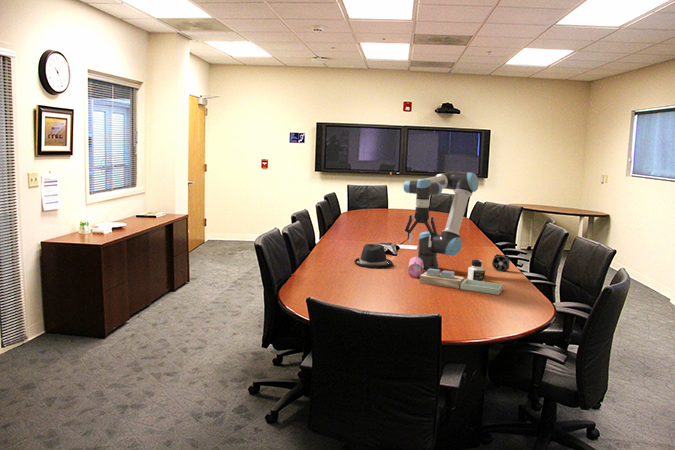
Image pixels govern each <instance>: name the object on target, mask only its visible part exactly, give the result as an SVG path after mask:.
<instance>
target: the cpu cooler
mask: <svg viewBox="0 0 675 450" xmlns="http://www.w3.org/2000/svg"><path fill="white" fill-rule="evenodd" d="M510 260H511V257H509V255H504V254H495V255H494V257H493V259H492V262H491V264H492V267H493V269H494V270H496V271H497V272H503V271H508V270H510Z"/></svg>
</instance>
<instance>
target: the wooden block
mask: <svg viewBox="0 0 675 450" xmlns="http://www.w3.org/2000/svg"><path fill="white" fill-rule="evenodd" d="M464 280H465V276H459V275H454V277H453V278H452V279H447V278H441V273H440V275H439V276H438V277H434V276H427V271H424V272H423V274H422V275H420V276H419V281H418V282H419V284H423V285H424V284H427V285H432V286H439V287H445V288H451V289H457V290H460V286H461V283H462V282H463V281H464Z"/></svg>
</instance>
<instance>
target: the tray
mask: <svg viewBox="0 0 675 450" xmlns="http://www.w3.org/2000/svg"><path fill="white" fill-rule="evenodd" d="M503 288H504V284H503V283H502V284H501V283H496V282H490V281H489V282H488V281H484V282H483V281H477V280H470V279H468V278H466V279H464V281H463V282H462V283H461V286H460V288H459V290H462V291H468V292H475V293H482V294H489V295H494V296H499V295H501V292H503Z"/></svg>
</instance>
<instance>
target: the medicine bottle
mask: <svg viewBox="0 0 675 450" xmlns="http://www.w3.org/2000/svg"><path fill="white" fill-rule="evenodd" d="M483 264H484V263H483V261H482V260H481V259H472V260H471V266H468V269H467V279H470V280H477V281H483V282H485V277H486V270H485V269H484V268H483Z"/></svg>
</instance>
